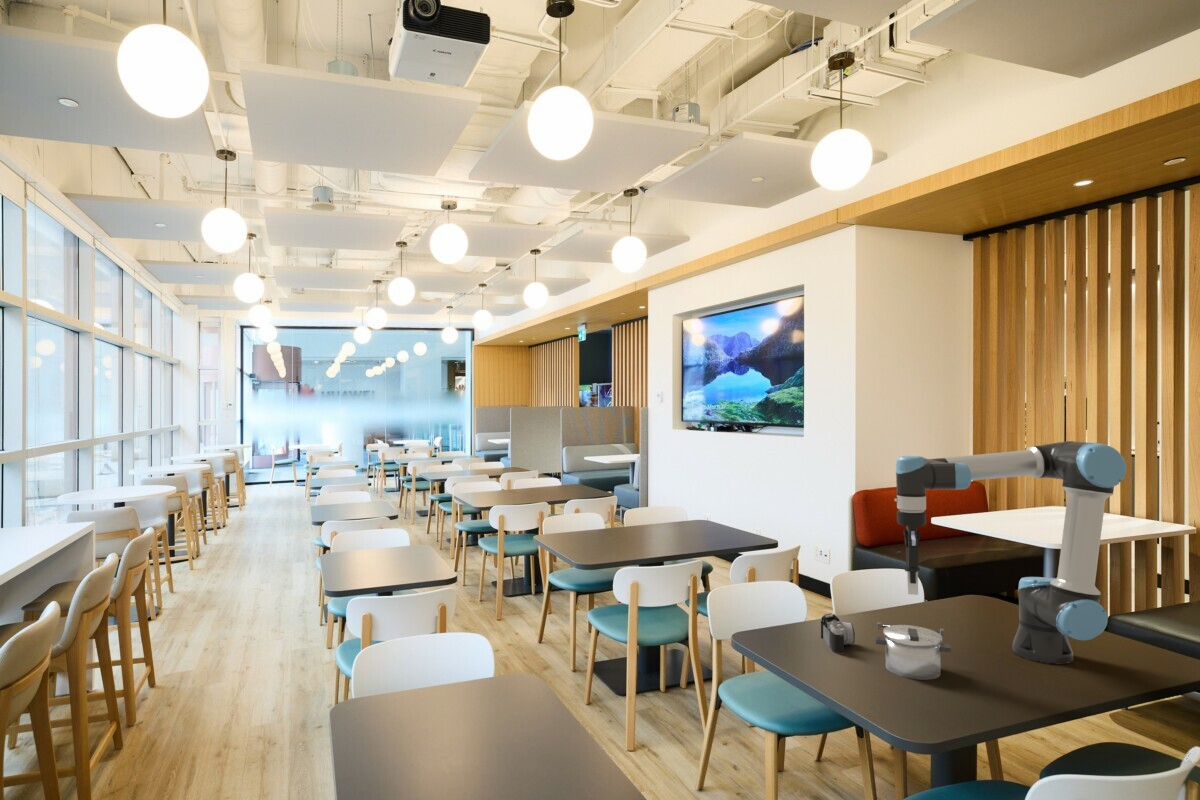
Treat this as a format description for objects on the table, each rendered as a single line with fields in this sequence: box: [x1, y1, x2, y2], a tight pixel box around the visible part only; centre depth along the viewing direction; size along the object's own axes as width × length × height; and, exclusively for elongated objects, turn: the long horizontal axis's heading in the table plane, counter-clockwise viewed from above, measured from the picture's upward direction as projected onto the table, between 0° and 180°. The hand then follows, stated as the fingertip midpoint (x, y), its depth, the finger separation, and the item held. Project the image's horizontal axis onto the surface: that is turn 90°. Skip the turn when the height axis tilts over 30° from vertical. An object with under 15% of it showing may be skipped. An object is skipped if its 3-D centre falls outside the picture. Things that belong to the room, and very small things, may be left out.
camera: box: [820, 612, 856, 655], centre depth 208 cm, size 16×9×10 cm, turn 175°
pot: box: [875, 621, 952, 681], centre depth 189 cm, size 16×19×10 cm
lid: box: [881, 624, 943, 647], centre depth 189 cm, size 16×15×3 cm
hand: (912, 593), depth 190 cm, fingers closed
